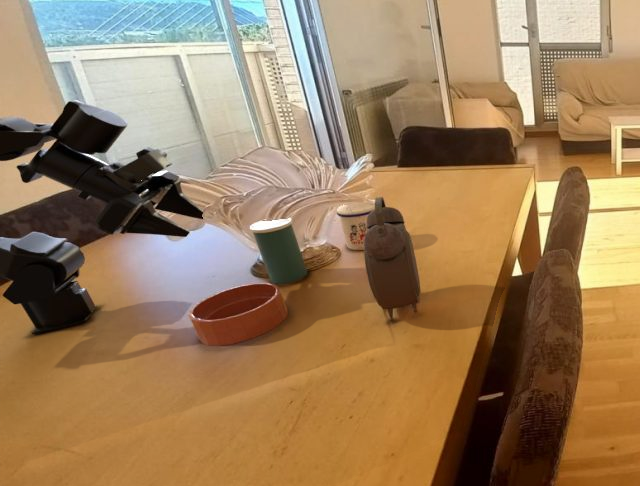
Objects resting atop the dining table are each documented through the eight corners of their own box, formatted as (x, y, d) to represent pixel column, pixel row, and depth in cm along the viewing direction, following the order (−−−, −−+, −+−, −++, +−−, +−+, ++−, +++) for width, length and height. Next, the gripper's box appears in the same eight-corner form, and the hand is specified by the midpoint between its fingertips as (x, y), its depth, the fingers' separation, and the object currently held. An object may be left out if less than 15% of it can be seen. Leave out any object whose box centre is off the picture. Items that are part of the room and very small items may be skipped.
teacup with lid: (349, 255, 104) (335, 205, 100) (343, 241, 111) (330, 194, 107) (406, 240, 111) (395, 193, 106) (397, 229, 117) (387, 184, 113)
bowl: (194, 358, 72) (181, 330, 70) (206, 321, 81) (195, 296, 79) (288, 331, 78) (278, 305, 76) (288, 300, 87) (280, 276, 85)
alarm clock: (380, 292, 88) (354, 191, 81) (421, 284, 91) (400, 185, 83) (377, 334, 76) (345, 219, 68) (425, 323, 79) (400, 211, 71)
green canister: (281, 289, 91) (261, 232, 86) (263, 282, 94) (242, 226, 89) (316, 274, 96) (298, 220, 91) (297, 268, 99) (279, 214, 94)
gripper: (86, 148, 69) (207, 206, 78) (143, 127, 85) (239, 177, 93) (41, 207, 70) (166, 259, 78) (106, 175, 85) (204, 221, 94)
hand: (197, 225), depth 86 cm, fingers open, 9 cm apart
